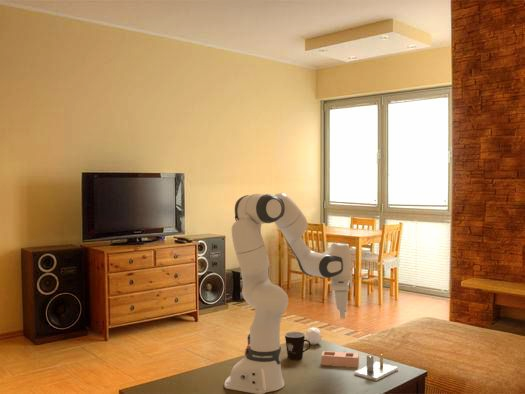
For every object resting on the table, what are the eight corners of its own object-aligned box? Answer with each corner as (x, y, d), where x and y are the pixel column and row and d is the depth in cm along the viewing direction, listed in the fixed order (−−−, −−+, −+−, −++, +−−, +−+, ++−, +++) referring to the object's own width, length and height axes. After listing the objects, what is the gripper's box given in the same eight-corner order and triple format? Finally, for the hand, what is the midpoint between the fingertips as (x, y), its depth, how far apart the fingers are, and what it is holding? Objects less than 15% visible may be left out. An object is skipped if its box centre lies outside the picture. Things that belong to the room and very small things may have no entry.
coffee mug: (281, 356, 234) (281, 333, 233) (299, 353, 237) (298, 330, 237) (294, 364, 223) (294, 340, 223) (312, 360, 227) (312, 337, 226)
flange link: (321, 364, 222) (321, 355, 221) (323, 360, 227) (323, 351, 227) (358, 367, 218) (358, 357, 218) (359, 362, 224) (358, 353, 223)
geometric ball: (316, 348, 252) (325, 334, 254) (315, 347, 245) (324, 332, 246) (302, 339, 254) (311, 325, 256) (301, 338, 247) (310, 323, 249)
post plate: (376, 381, 203) (376, 361, 203) (354, 374, 210) (354, 355, 210) (398, 370, 214) (397, 351, 214) (376, 364, 221) (376, 346, 221)
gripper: (335, 277, 232) (336, 308, 233) (332, 287, 212) (334, 321, 213) (350, 276, 231) (351, 308, 232) (348, 287, 211) (350, 321, 212)
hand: (343, 314), depth 222 cm, fingers open, 8 cm apart
